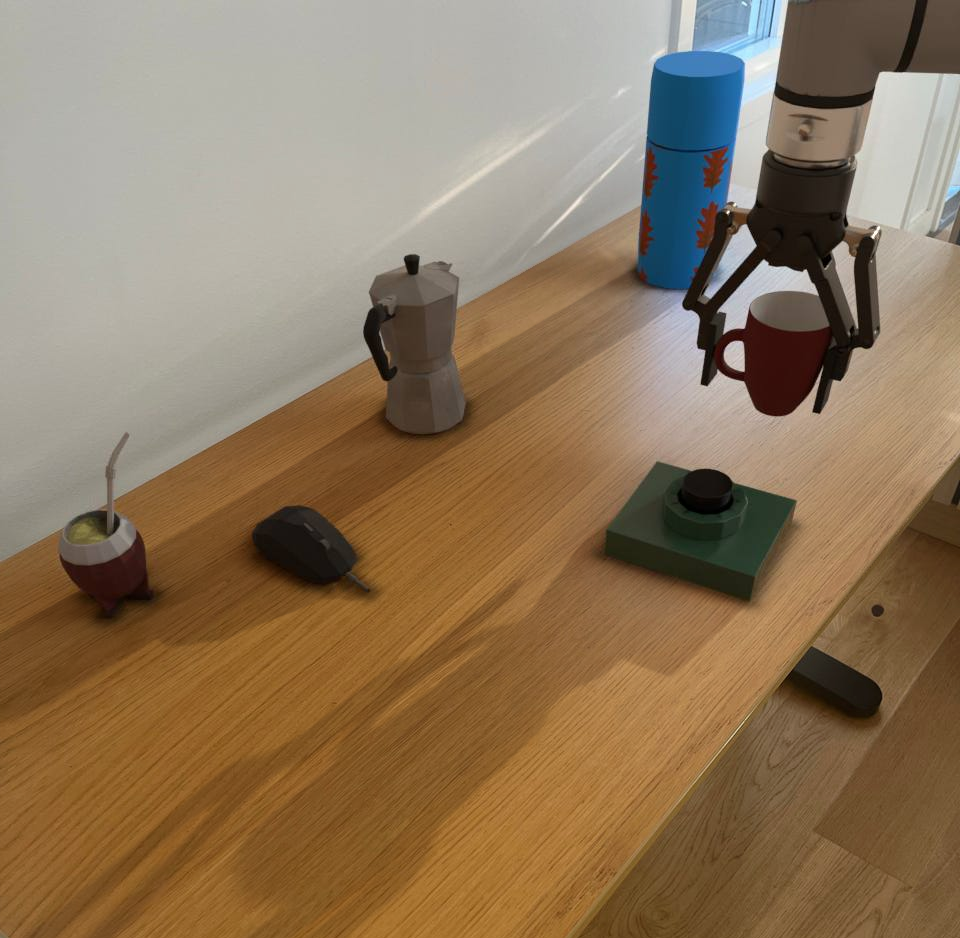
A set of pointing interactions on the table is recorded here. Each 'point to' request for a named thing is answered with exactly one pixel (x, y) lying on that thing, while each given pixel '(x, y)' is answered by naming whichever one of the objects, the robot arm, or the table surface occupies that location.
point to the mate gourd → (106, 551)
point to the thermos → (687, 161)
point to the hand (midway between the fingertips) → (763, 392)
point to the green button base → (700, 533)
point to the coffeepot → (417, 345)
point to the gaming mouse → (306, 545)
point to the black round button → (706, 491)
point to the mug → (779, 350)
